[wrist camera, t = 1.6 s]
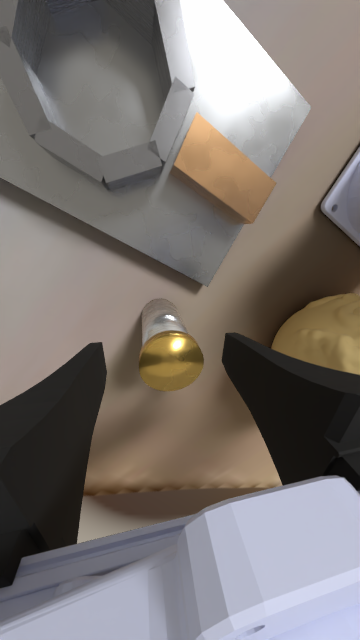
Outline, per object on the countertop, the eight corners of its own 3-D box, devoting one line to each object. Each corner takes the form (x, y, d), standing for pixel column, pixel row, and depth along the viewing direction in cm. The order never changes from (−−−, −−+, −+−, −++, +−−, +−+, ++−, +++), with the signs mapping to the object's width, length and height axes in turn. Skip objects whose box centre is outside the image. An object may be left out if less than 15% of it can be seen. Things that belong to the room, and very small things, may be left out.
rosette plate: (298, 116, 12) (343, 83, 10) (203, 283, 16) (217, 294, 13) (1, -223, 7) (-92, -529, 4) (-46, 151, 10) (-114, 121, 7)
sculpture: (368, 270, 18) (623, 314, 9) (339, 369, 23) (477, 464, 14) (256, 292, 17) (410, 371, 7) (251, 391, 22) (338, 513, 13)
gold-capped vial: (186, 306, 16) (215, 350, 10) (168, 338, 17) (184, 397, 11) (150, 289, 15) (157, 327, 9) (132, 325, 16) (128, 382, 10)
